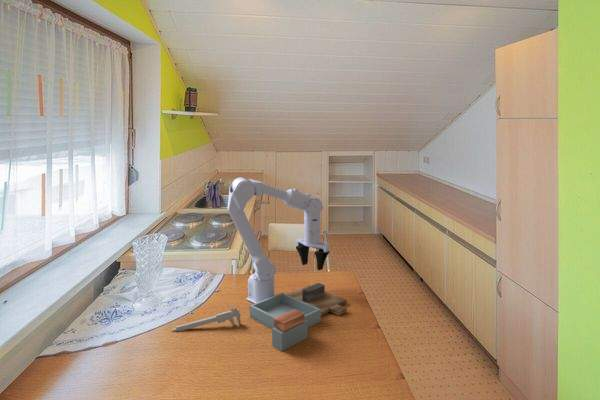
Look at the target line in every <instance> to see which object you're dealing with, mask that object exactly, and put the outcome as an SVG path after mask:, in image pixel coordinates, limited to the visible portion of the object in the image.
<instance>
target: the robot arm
mask: <svg viewBox="0 0 600 400" xmlns="http://www.w3.org/2000/svg"><path fill="white" fill-rule="evenodd" d="M260 195H266V196H269V197H273V198H275V199H280V200H281V201H283V203H284V204H285V206H288V207H292V208H294V209H298V210H299V211H304V212H303V216H304V217H303V233H304V234H303V235H304V236H303V237H298V238H296V239H295V242H296V243H295V245H296V246H295V249H296V250H297V252H298V254H299V258H300V261H301V265H302V266H305V265H308V263H309V251H310V248H311V249H312V248H313V249H316V250H315V251H314V255H315V259H316V269H317V270H318V271H321V270H323V269H324V265H325V261H326V259H327V257H328V255H329V254H330V245H328V244H326V243H324V242H323V241H322V240H321V213H322V211H323V210H324V205H323V203H322V200H320V199H319V198H318V197H316V196H314V195H313V196H312V194H310V193H308V192H307V193H303V192H301V191H299V189H298V188H293V189H292V188H290V189H287V190H283V189H280V188H278V187H276V186H272V185H271V184H268V183H265V182H263V181H259V180H256V179H250V178H248V179H247V178H246V177H241V176H240V177H237V178H234V180H232V183H231V184H230V186H229V188H228V200H227V207H226V208H227V211H228V213H229V216H230V218H231V219H232V222H233V224H234V225H235V228H236V230H237V231H238V234H239V236H240V237H241V239H242V242H243V243H244V245H245V247H246V250H247V251H248V254H249V255H250V259H251V261H252V263H251V264H252V265H251V266H252V268H253V270H254V273H252V274H251V275H249V277H248V280H247V297H246V298H245V300H247V301H249V302H250V303H253V304H255V303H257V302H260V301H262V300H265V299H267V298H270V297H272V296H275V295H276V292H275V290H276V289H275V275H276V266H275V264H274V263H273V262H271V260H270V259H269V257H268V256H267V255H266V253H265V252H264V250H263V248H262V246H261V243H260V241H259V239H258V237H257V235H256V233H255V231H254V229H253V228H252V225H251V223H250V221H249V219H248V217H247V215H246V213H245V208H246V205H247V203H248V202H249V201H250V200H251V199H252V198H253V197H254V196H255V197H259V196H260Z"/></svg>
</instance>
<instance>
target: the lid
mask: <svg viewBox="0 0 600 400" xmlns="http://www.w3.org/2000/svg"><path fill="white" fill-rule="evenodd" d="M325 286H326V285H325V284H323V283H321V282H317V283H315V284H312V285H306V286H303V287H301V288H299V289H297V290H294V291H291V292H289V293H285V294H286V295H289V296H291V297H293V298H296V299H298V300H300V301H303V302H305V303H307V304H310V305H312V306H314V307H317V308H319V309H321V316H323V315H325V314H327V313H329V312H330V313H331V314H335V315H336V316H341V315H343V314H344V313H346V312H347V310H348V309H347V307H345V306H343V305H345V304H347V303H348V300H347V299H345V298H344V297H340V296H339V295H336V294H333V293H330V292H328V291H326V290H325Z"/></svg>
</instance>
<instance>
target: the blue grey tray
mask: <svg viewBox="0 0 600 400" xmlns="http://www.w3.org/2000/svg"><path fill="white" fill-rule="evenodd" d="M286 294H287V293H284V292H280V293H277V294H275V296H272V297H270V298H267V299H265V300H262V301H260V302H257V303H253V304H250V305H249V318H250V319H252V320H254V321H256V322H258V323H260V324H262V325H264V326H265V327H267V328H269V329H271V342H272V343H271V346H272V347H274V348H276V349H277V350H279V351H280V352H284V351H285V350H287V349H289V348H291V347H292V346H295V345H297V344H298V343H301V342H303V341H304V340H306V339H308V337H309V336H308V335H309V333H308V332H309V331H308V330H309V329H308V328H310V327H312V326H314V325H316V324H317V323H320V322H322V315H321V309H319V308H317V307H314V306H312V305H310V304H307V303H305V302H303V301H300V300H298V299H296V298H293V297H291V296H289V295H286ZM294 309H296V310H298V311H300V312H302V313H304V314H305V322H302V323H300V324H298V325H296V326H294V327H292V328H290V329H288V330H286V331H282V330H280V329H278V328H276V327H274V318H276V317H278V316H281V315H283V314H285V313H287V312H290V311H292V310H294Z"/></svg>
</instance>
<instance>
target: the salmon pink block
mask: <svg viewBox="0 0 600 400" xmlns="http://www.w3.org/2000/svg"><path fill="white" fill-rule="evenodd" d="M302 322H305V314H304V313H302V312H300V311H298V310H296V309H294V310H292V311H290V312H287V313H285V314H283V315H281V316H278V317H276V318H274V327H276V328H278V329H280V330H282V331H286V330H288V329H290V328H292V327H294V326H296V325H298V324H300V323H302Z"/></svg>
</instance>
